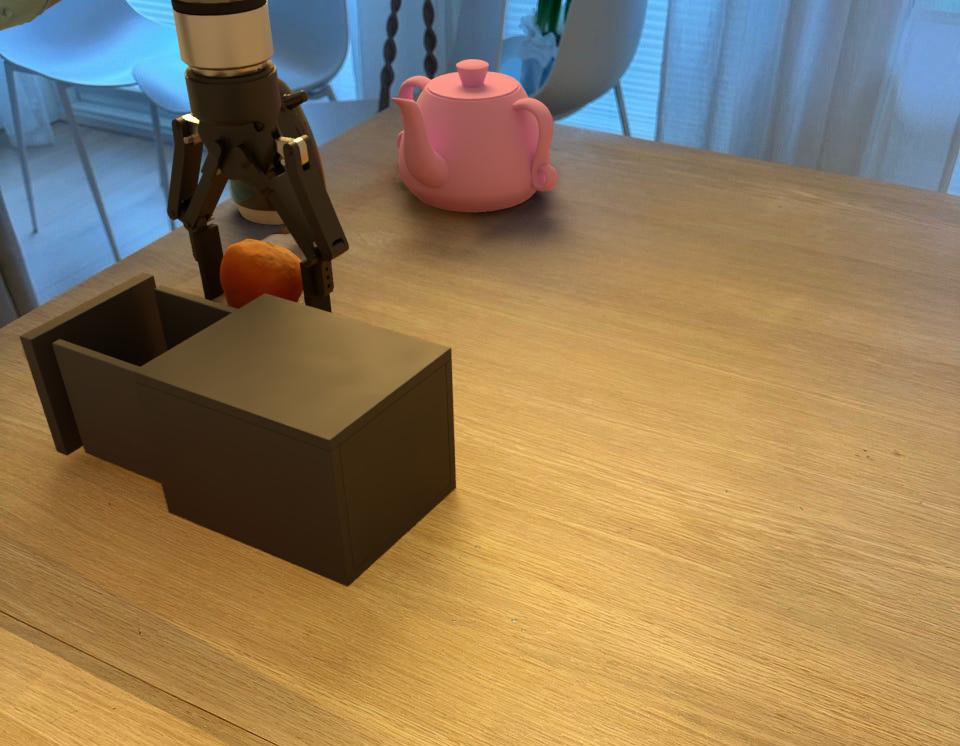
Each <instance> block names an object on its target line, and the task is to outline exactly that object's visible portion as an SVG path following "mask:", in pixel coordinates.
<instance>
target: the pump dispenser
mask: <svg viewBox="0 0 960 746" xmlns="http://www.w3.org/2000/svg"><path fill="white" fill-rule="evenodd" d="M278 84H279V92H280V99H281V107H280V111H279V114H278V120H277V122H278V126H279V129H280V131H281V133H282V135H283V137H286V138H294V139H296V138H298V137H300V136H303V135H307V136H309V137H310V139H311V141H312V145H313V151H314V158H315V164H316V166H317V169H318V171H319V174H320V176H321V178H322V181H323V183H324V186H325V188H326V189H327V180H326V174H325V170H324V165H323V161H322V158H321V154H320V150H319V147H318V144H317V142H316V138H315V135H314V133H313V130H312V127H311V125H310V123H309V121H308V118H307V116H306V113H305V111H304V109H303V107H302V105H303V104H304V103H306V102H308V100H309V94H308V92H307V91H306V90H303V89H302V90H299V91H295V92H293V90H292V89H291V88H290V86H289V85H288V84H287V83H286V82H285V81H284V80H283V79H282V78H281V77H278ZM282 158H283V157H282ZM275 177H277V174H276V173H275V171H274V172H273V174H272V175H271V177H269V178H268V179H269V180H270V179H273V178H275ZM228 183H229V184H228V185H229V192H230V197H231V200H232V201H233V202H234V203H235V205H236V208H237V209H238V211H239V213H240V215H241V217H243V219H246V220H247V221H249V222H252V223H255V224H260V225H271V226H272V225H274V226H275V225H277V226H278V225H285V224H284V223H283V221H282V219H281V218H280V216H279V215H278V213H277V211H276V210H275V208H274V207H273V205H272V204H271V202H270V200H269V199H268V197H266V196H264V195H262V194H260V192H259V191H258V189H257V188H256V186H255V185H250V184H246V183H244V182H243V181H241V180H229V179H228ZM275 234H284V235H291V234H290V232H289V230H288V229H287V227H286V226H284V227H282V228H280V229H279V230H277V231H275V232H273V233H272V235H275Z"/></svg>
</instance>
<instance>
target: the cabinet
mask: <svg viewBox="0 0 960 746" xmlns="http://www.w3.org/2000/svg"><path fill="white" fill-rule="evenodd" d="M452 349H453V348H452V347H451V346H450V347H449V346H446V345H443V344H440V343H436V342H433V341H429V340H426V339H422V338H419V337H415V336H412V335H409V334H405V333H402V332H400V331H399V332H398V331H394V330H392V329H389V328H385V327H382V326H378V325H375V324H372V323H368V322H364V321H361V320H359V319H354V318H351V317H347V316H344V315H341V314H337V313H333V312H332V313H330V312H327V311H324V310H320V309H317V308H313V307H310V306H307V305H305V304H302V303H300V302H297V303H296V302H293V301H289V300H286V299H283V298H279V297H276V296H272V295H269V294H263V295H261V296H260V297H258V298H256V299H255V300H253V301H251V302H250V303H248V304H246V305H244V306H243V307H241V308H239V309H238V310H236V311H234V312H233V313H231V314H229V315H228V316H226V317H224V318H222V319H221V320H219V321H217V322H216V323H214V324H212V325H211V326H209V327H207V328H206V329H204V330H202V331H200V332H199V333H197V334H195V335H194V336H192V337H190V338H189V339H187V340H185V341H184V342H182V343H180V344H178V345H177V346H175V347H173V348H172V349H170V350H168V351H167V352H165V353H163V354H161V355H160V356H158V357H156V358H155V359H153V360H151V361H150V362H148V363H146V364H145V365H143V366H141V367H139V368H138V369H136V370H134V371H133V375H134V379H135V383H136V387H137V391H138V395H139V399H140V403H141V407H142V410H143V414H144V418H145V422H146V426H147V430H148V434H149V438H150V442H151V446H152V450H153V453H154V457H155V461H156V465H157V469H158V473H159V477H160V481H161V483H160V485H161V488H162V493H163V497H164V501H165V504H166V509H167V512H168V513H169V514H171V515H173V516H176V517H178V518H181V519H183V520H186V521H189V522H191V523H193V524H195V525H197V526H200V527H202V528H205V529H208V530H210V531H212V532H214V533H217V534H220V535H222V536H224V537H227V538H229V539H231V540H234V541H237V542H238V543H242V544H243V545H246V546H249V547H251V548H254V549H256V550H258V551H260V552H263V553H266V554H267V555H270V556H273V557H274V558H277V559H280V560H282V561H284V562H287V563H289V564H292V565H295V566H296V567H299V568H302V569H304V570H306V571H309V572H311V573H314V574H316V575H318V576H320V577H323V578H326V579H328V580H331V581H333V582H335V583H338V584H340V585H342V586H344V587H349V586H350V585H352V583H354V582H355V581H356V580H357V579H358V578H360V577H361V576H362V575H363V573H365V572H366V571H367V570H368V569H369V568H370V567H371V566H373V564H375V563H376V562H377V561H378V560H379V559H380V558H382V556H383V555H385V554H386V553H387V552H388V551H389V550H390V549H391V548H392V547H393V546H395V544H397V542H399V541H400V540H401V539H402V538H403V537H404V536H405V535H407V534H408V532H410V531H411V530H412V529H413V528H414V527H415V526H416V525H418V523H420V522H421V521H422V519H424V518H425V517H426V516H427V515H429V514H430V513H431V512H432V511H433V510H434V509H435V508H436V507H437V506H438V505H439V504H440V503H442V502H443V501H444V500H445V499H447V497H448V496H449V495H450V494H451V493H452V492H454V490H456V489H457V472H456V443H455V441H456V439H455V411H454V386H453V385H454V382H453V359H452V358H453V356H452V352H453V351H452Z"/></svg>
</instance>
